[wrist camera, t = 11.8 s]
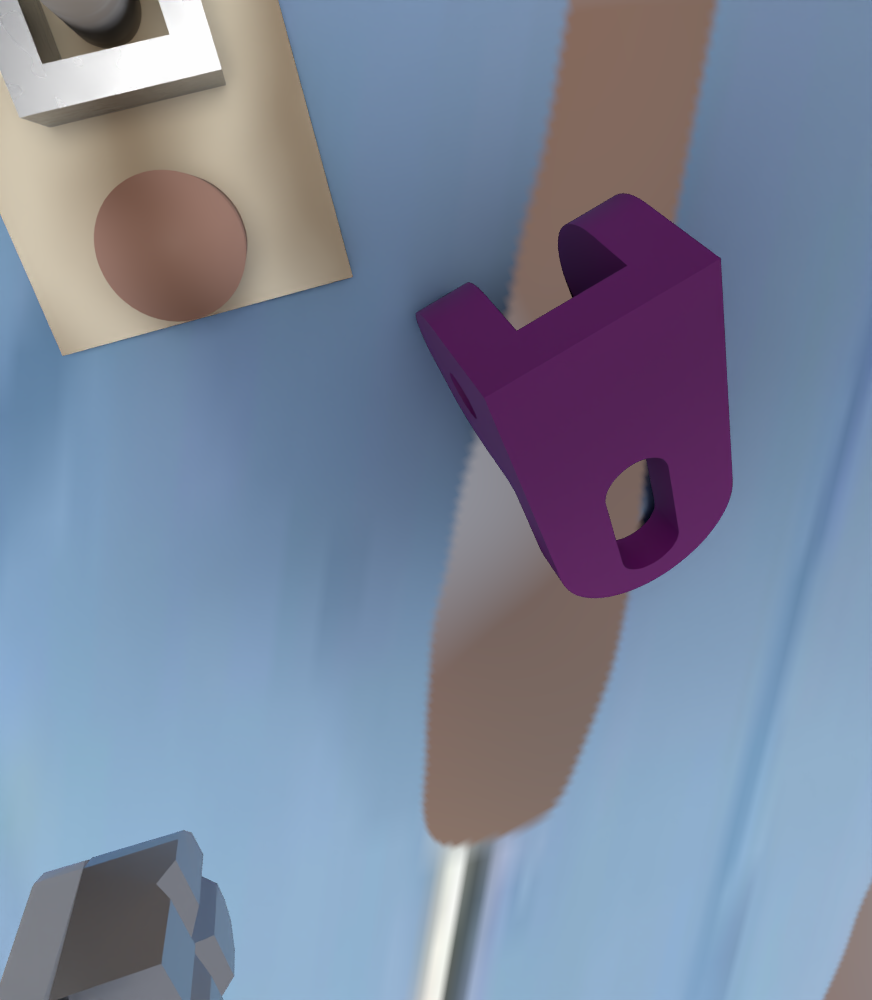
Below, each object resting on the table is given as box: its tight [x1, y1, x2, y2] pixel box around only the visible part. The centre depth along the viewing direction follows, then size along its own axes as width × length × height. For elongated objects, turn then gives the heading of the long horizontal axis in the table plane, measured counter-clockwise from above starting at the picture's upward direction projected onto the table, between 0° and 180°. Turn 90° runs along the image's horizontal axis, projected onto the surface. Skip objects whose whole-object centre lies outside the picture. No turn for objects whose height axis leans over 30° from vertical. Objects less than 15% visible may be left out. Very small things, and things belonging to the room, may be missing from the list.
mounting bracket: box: [416, 193, 733, 598], centre depth 36 cm, size 9×8×18 cm
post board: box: [0, 0, 353, 356], centre depth 27 cm, size 12×14×7 cm
